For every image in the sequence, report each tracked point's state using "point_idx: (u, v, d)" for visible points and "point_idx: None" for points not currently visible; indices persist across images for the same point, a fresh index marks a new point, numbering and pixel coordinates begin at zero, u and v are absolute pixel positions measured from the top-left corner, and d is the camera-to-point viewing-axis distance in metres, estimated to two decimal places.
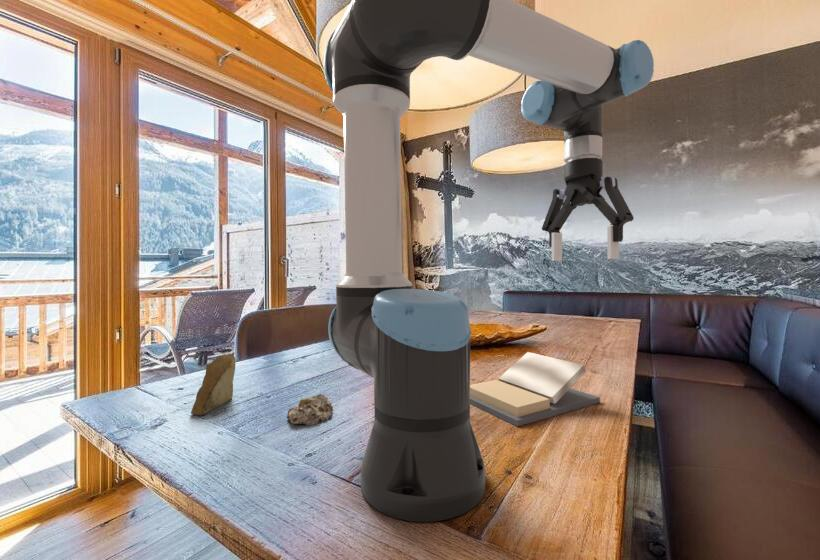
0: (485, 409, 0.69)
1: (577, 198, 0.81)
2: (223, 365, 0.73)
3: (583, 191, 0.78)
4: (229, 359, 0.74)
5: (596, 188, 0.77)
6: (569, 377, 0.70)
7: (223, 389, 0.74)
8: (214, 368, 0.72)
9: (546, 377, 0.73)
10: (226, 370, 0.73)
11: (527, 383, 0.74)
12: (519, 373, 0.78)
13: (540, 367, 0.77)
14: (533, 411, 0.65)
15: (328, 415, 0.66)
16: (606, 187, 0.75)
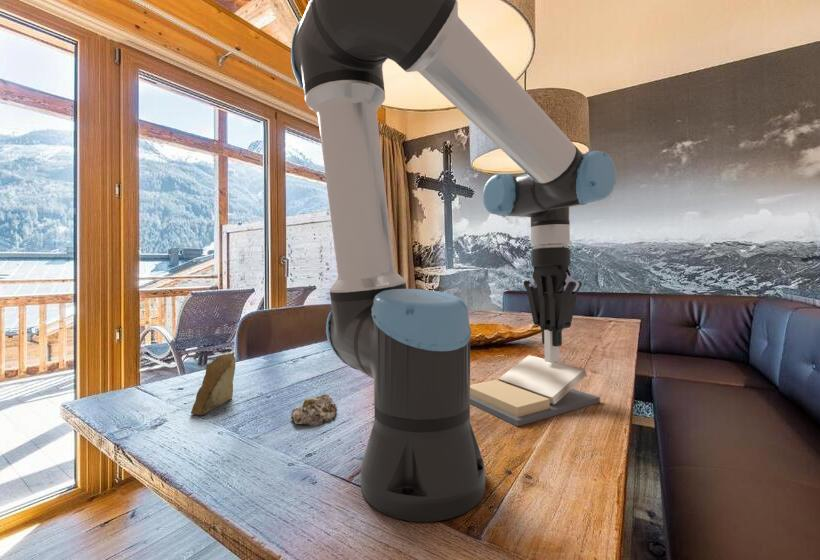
0: (485, 409, 0.69)
1: (544, 286, 0.77)
2: (223, 365, 0.73)
3: (548, 281, 0.75)
4: (229, 359, 0.74)
5: (563, 279, 0.73)
6: (570, 379, 0.70)
7: (223, 389, 0.74)
8: (214, 368, 0.72)
9: (547, 379, 0.73)
10: (226, 370, 0.73)
11: (527, 384, 0.74)
12: (519, 374, 0.78)
13: (541, 369, 0.77)
14: (533, 411, 0.65)
15: (332, 416, 0.66)
16: (566, 290, 0.72)
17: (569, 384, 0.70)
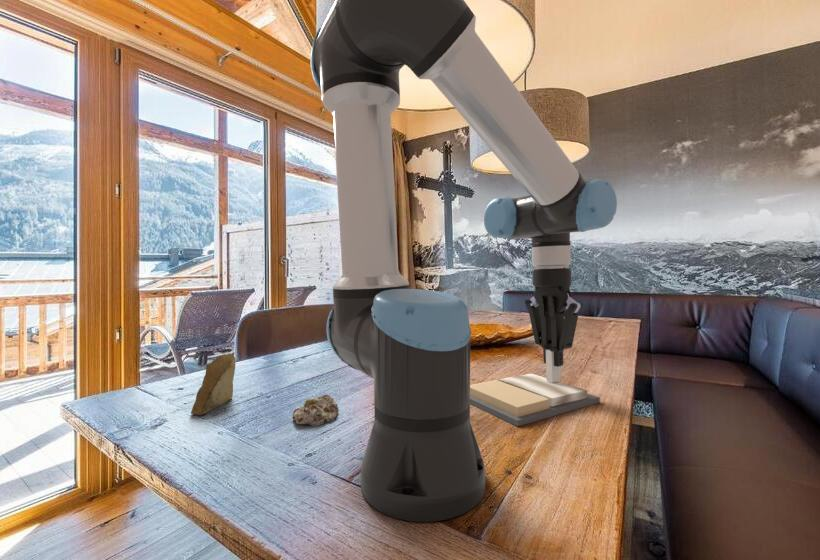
0: (485, 409, 0.69)
1: (546, 306, 0.77)
2: (223, 365, 0.73)
3: (550, 302, 0.75)
4: (229, 359, 0.74)
5: (564, 301, 0.74)
6: (571, 392, 0.71)
7: (223, 389, 0.74)
8: (214, 368, 0.72)
9: (548, 388, 0.73)
10: (226, 370, 0.73)
11: (527, 387, 0.74)
12: (520, 381, 0.78)
13: (542, 382, 0.77)
14: (533, 411, 0.65)
15: (333, 416, 0.66)
16: (567, 311, 0.73)
17: (570, 396, 0.70)
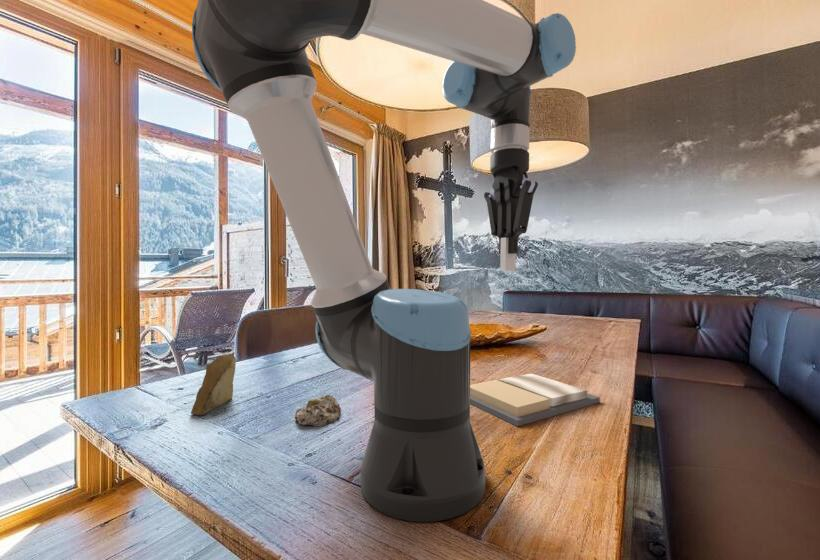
0: (485, 409, 0.69)
1: (502, 192, 0.75)
2: (223, 365, 0.73)
3: (505, 185, 0.73)
4: (229, 359, 0.74)
5: (519, 181, 0.71)
6: (571, 392, 0.71)
7: (223, 389, 0.74)
8: (214, 368, 0.72)
9: (548, 388, 0.73)
10: (227, 370, 0.73)
11: (527, 387, 0.74)
12: (520, 381, 0.78)
13: (542, 382, 0.77)
14: (533, 411, 0.65)
15: (336, 416, 0.65)
16: (521, 190, 0.70)
17: (570, 396, 0.70)
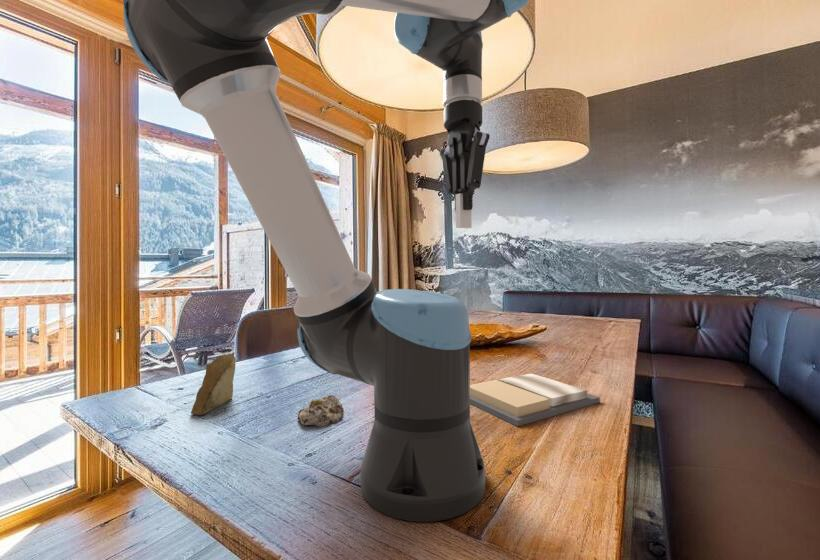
0: (485, 409, 0.69)
1: (456, 148, 0.73)
2: (223, 365, 0.73)
3: (458, 139, 0.71)
4: (229, 359, 0.74)
5: (471, 133, 0.69)
6: (571, 392, 0.71)
7: (223, 389, 0.74)
8: (214, 368, 0.72)
9: (548, 388, 0.73)
10: (226, 370, 0.73)
11: (527, 387, 0.74)
12: (520, 381, 0.78)
13: (542, 382, 0.77)
14: (533, 411, 0.65)
15: (339, 417, 0.65)
16: (473, 142, 0.68)
17: (570, 396, 0.70)
